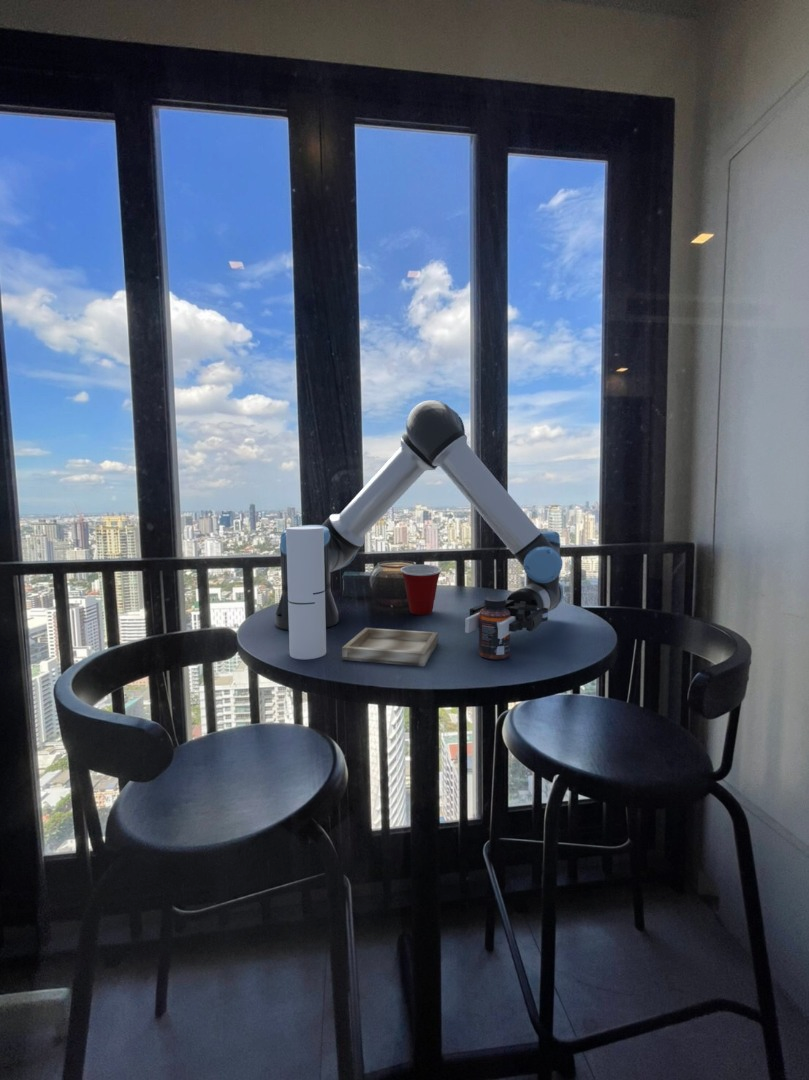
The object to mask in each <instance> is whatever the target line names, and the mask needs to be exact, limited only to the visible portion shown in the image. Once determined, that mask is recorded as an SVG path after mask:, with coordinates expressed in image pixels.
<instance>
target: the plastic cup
mask: <svg viewBox="0 0 809 1080" xmlns="http://www.w3.org/2000/svg"><path fill="white" fill-rule="evenodd" d="M400 572H401V573H402V577H403V581H404V585H405V592H406V596H407V601H408V609H409V612H410V614H412V615H416V616H417V615H418V616H426V615H431V614H432V613H433V610H434V604H435V599H436V593H437V589H438V582H439V578H440V574H441V572H442V567H440V566H437V565H432V564H411V565H405V566H403V567H401V568H400Z"/></svg>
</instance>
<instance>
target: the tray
mask: <svg viewBox="0 0 809 1080" xmlns="http://www.w3.org/2000/svg"><path fill="white" fill-rule="evenodd" d="M438 644H439V632H437V631H436V632H435V631H422V630H421V631H420V630H406V629H405V630H404V629H391V628H376V627H364V628H363V629H362V630H361V631H359V633H357V634H356V635H355V636H354V637H353V638H351V639H350V640H348V642H346V643H345V644H344V645H343V646H342V647H341V658H342V659H341V660H342V661H353V662H355V661H356V662H365V663H366V662H367V663H377V664H378V663H379V664H386V665H387V664H389V665H404V666H413V667H425V666H426V664H427V663H428V661H429V659H430V658H431V656H432V654H433V653H434V651H435V650H436V647H437V646H438Z"/></svg>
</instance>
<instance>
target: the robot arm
mask: <svg viewBox="0 0 809 1080" xmlns="http://www.w3.org/2000/svg"><path fill="white" fill-rule="evenodd" d="M405 428H406V429H405V430H406V431H405V432H404V433H403V434H402V436H401V437H400V447H399V448H398V449H397V450H396V451H395V452H394V453H393V455H392V456H391V457H390V458H389V459H388V460H387V461H386V462H385V464H384V465H383V466H382V467H381V468H380V469H379V470H378V471H377V472H376V473H375V474H374V476H372V477H371V479H370V480H369V481H368V482H367V484H365V485H364V486H363V487H362V489H361V490H360V491H359V492H358V493H357V494H356V495H355V496H354V497H353V498H352V499H351V501H350V502H349V503H348V504H347V505H346V506H345V507H344V509H343V510H342V511H340V513H332V514H330V515H329V517H327V519H326V520H324V522H323V523H322V524H307V525H306V524H304V525H303V524H302V525H299V526H297V525H296V526H295V527H324V573H325V619H326V629H327V628H331V627H334V626H335V625H337V624H338V623H339V611H338V608H337V605H336V602H335V599H334V596H333V593H332V589H331V585H332V584H331V573H332V572H335V571H338V570H339V571H340V570H341V569H344V568H346V567H347V566H349V565H350V564H351V562H352V561H354V559H355V557H356V555H357V553H358V552H359V550H360V549H361V548H362V547H363V546H364V544H365V537H364V536H366V535H367V534H368V532H369V531H370V530H371V529H372V528H373V527H374V526H375V525H376V523H377V522H379V520H380V519H381V518H382V517H383V516H384V515H385V514H386V513H387V512H389V510H390V509H391V507H393V505H395V503H397V502H398V500H399V499H400V498H401V497H402V496H403V495H404V494H405V493H406V492H407V491H408V490H409V488H410V487H411V486H413V484H414V483H415V482H417V480H419V478H420V477H421V476H422V475H423V474H424V473H425V472H427V471H435V470H436V469H437V467H440V468H441V469H442V471H443V472H444V473H445V474H446V476H447V477H448V478H449V479H450V480H451V481H452V483H453V484H454V485H455V486H456V488H457V489H458V490H459V491H460V492H461V494H462V495H463V496H464V497H465V499H466V500H467V501H468V503H470V504H471V505H472V506H473V508H474V509H475V510H476V512H478V514H479V515H480V516H481V517H482V519H483V520H484V521H485V522H486V524H487V525H488V526H489V527H490V529H492V531H493V532H494V533H495V534H496V536H498V538H499V540H500V541H502V543H503V544H504V545H505V546H506V548H507V549H508V550H509V551H510V552H511V553H512V555H513V556H514V557H515V558H516V560H517V561H518V562H519V564H520V565H521V566H522V567H523V570H524V573H525V576H526V578H525V579H526V581H525V583H526V585H525V586H523V587H521V588H519V589H517V590H514V591H513V592H511V593H510V594H509V595H508V596H507V598H506V599H505V600H506V605H505V607H506V609H507V610H509V612H510V617H509V618H508V619H506V620H504V621H502V622H500V623H499V624H498V638H499V639H503V638H504V637H506V636H507V635H509V634H510V635H511V634H512V633H515V632H518V631H522V630H523V629H526V631H528V632H532V631H534V630H535V629H536V628H537V627H538V626H540V625H541V624H542V623H544V622H547V621H548V620H549V619H548V616H549V612H551V611H553V610H555V609H556V608H557V607H558V605H560V603H562V600H563V598H564V588H563V587H562V584H560V573H561V571H562V568H563V559H562V557H561V542H560V540H561V539H560V534H559V532H558V531H554V530H540V529H539V528H538V527H537V526H536V525H535V523H534V522H533V521H532V520H531V518H529V516H528V514H526V513H525V511H524V510H523V509H522V508H521V507H520V505H518V503H517V502H516V501H515V500H514V499H513V497H512V496H511V495H510V493H509V492H508V491H507V490H506V489H505V487H504V486H503V485H502V484H501V483H500V481H498V479H497V477H495V475H493V473H492V472H491V471H490V470H489V469H488V467H487V466H486V465H485V464H484V462H482V459H480V458H479V456H477V454H476V453H475V452H474V451H473V450H472V448H471V447H470V446H469V445H468V442H467V441H468V436H467V435H466V434H465V433H466V432H465V431H466V429H465V424H464V422H463V420H462V418H461V417H460V415H459V414H458V413H457V412H456V411H455V410H453V408H451V407H450V406H448V405H447V404H446V403H445V402H443V401H440V400H433V399H429V400H424V401H421V402H420V403H418V404H416V405H415V406H414V407H413V408H412V409H411V411H410V412H409V413H408V416H407V420H406V423H405ZM279 550H280V552H279V553H280V571H281V572H280V573H281V575H280V576H281V594H280V595H281V596H280V599H279V602H278V605H277V608H276V611H275V616H274V617H275V618H274V619H275V624H274V625H275V626H276V627H277V628H279V629H281V630H287V631H289V615H288V582H287V548H286V529H285V530H283V531H282V532H281V534H280V544H279ZM484 607H485V604H484V603H481V604H479V605H476V606H474V607H472V608H469V616H468V617H466V618H465V619H464V623H465V624H464V625H465V626H464V633H465V634H470V633H472V632H474V631H475V630H479V613H480V610H481V609H483V608H484Z"/></svg>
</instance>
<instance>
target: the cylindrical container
mask: <svg viewBox="0 0 809 1080" xmlns="http://www.w3.org/2000/svg"><path fill="white" fill-rule="evenodd" d="M285 530H286V548H287V582H288V615H289V630H288V642H289V656H290V657H291V658H292V659H295V660H314V659H318V658H321V657H324V656H326V654H327V628H326V619H325V573H324V527H299V526H297V527H296V526H291V527H285Z"/></svg>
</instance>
